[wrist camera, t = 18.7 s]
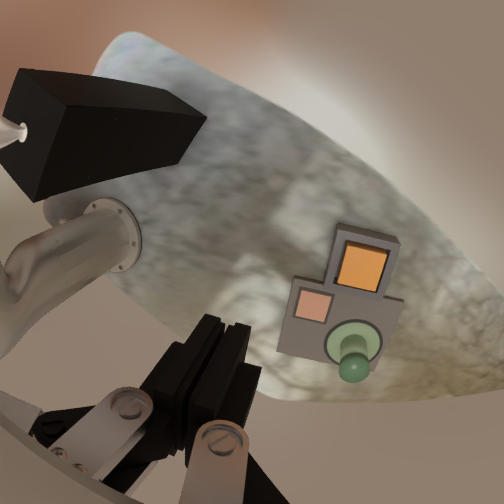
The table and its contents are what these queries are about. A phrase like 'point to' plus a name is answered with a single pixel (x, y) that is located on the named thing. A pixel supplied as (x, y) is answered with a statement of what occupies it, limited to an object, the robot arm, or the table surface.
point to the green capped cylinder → (354, 359)
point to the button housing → (365, 237)
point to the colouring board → (334, 322)
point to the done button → (361, 265)
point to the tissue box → (88, 130)
